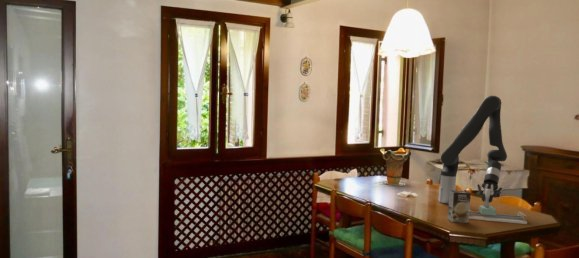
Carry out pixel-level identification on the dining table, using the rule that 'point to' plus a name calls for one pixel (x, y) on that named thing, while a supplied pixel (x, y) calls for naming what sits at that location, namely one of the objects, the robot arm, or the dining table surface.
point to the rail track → (499, 217)
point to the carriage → (487, 205)
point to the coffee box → (459, 206)
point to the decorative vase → (394, 165)
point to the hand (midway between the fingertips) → (486, 201)
